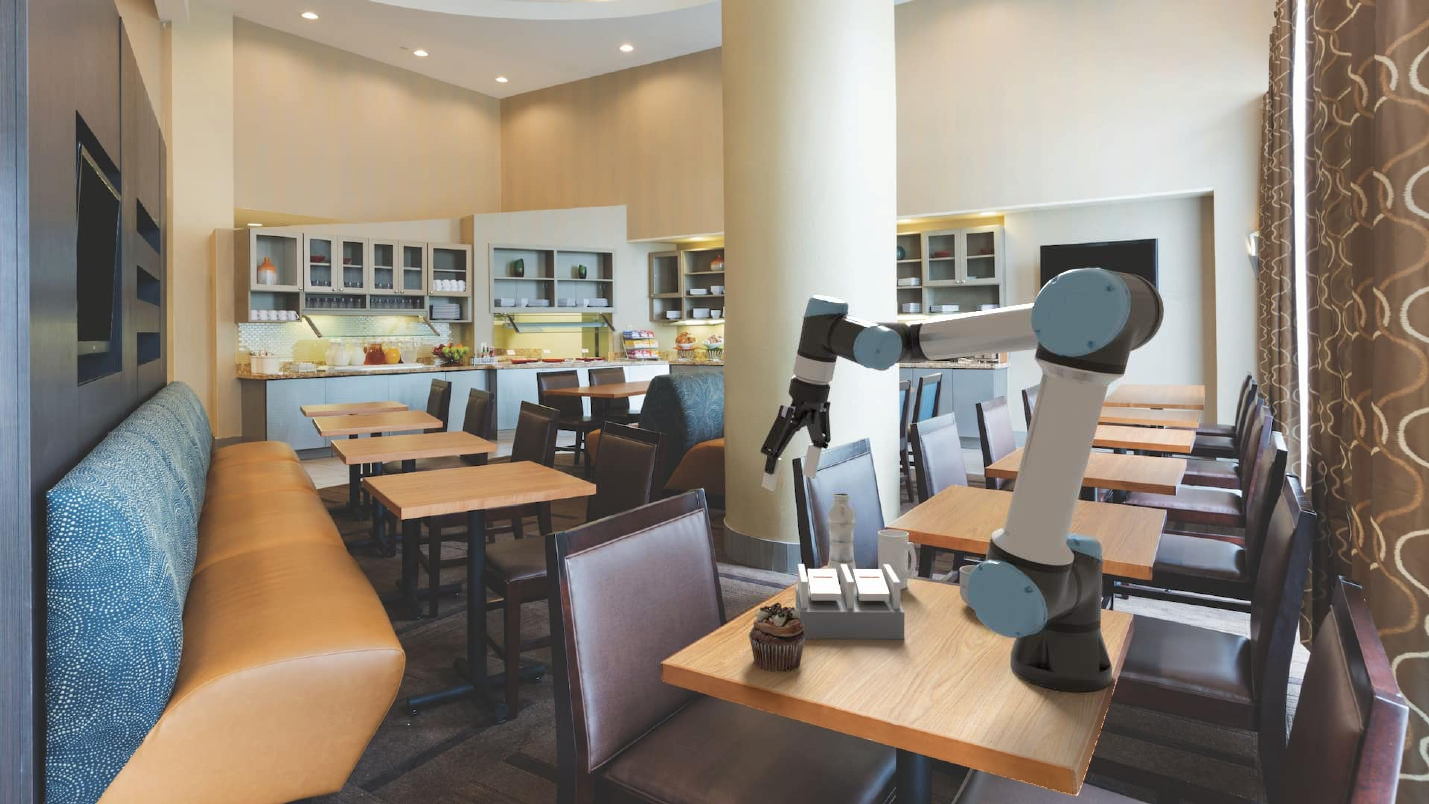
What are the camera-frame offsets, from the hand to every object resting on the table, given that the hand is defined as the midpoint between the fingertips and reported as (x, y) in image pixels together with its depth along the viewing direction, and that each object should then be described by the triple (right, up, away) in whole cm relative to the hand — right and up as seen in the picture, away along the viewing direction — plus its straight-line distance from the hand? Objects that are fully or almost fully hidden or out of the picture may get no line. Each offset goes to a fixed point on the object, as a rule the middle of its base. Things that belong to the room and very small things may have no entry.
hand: (789, 482), depth 151 cm
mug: (+26, -26, +21) cm, 42 cm away
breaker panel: (+11, -27, -1) cm, 29 cm away
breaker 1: (+7, -20, -1) cm, 21 cm away
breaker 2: (+16, -20, -2) cm, 26 cm away
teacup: (+41, -27, +5) cm, 50 cm away
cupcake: (-4, -29, -19) cm, 35 cm away
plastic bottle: (+15, -25, +27) cm, 40 cm away
